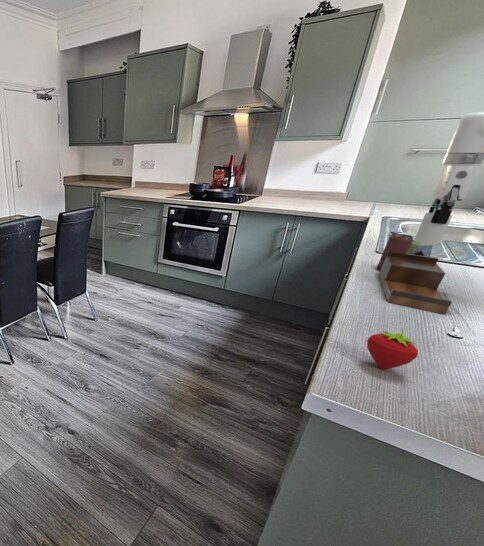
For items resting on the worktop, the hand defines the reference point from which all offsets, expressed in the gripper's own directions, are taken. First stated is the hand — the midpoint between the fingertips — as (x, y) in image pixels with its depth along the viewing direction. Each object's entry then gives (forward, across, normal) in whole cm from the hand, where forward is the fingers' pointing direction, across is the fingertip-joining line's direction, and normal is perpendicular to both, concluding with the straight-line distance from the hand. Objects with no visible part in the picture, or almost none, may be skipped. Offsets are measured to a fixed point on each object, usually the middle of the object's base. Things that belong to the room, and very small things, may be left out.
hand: (435, 220), depth 96 cm
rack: (+22, -7, +1) cm, 23 cm away
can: (+22, +14, +4) cm, 27 cm away
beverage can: (+23, +23, -4) cm, 33 cm away
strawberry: (+23, -62, +12) cm, 67 cm away
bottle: (+7, 0, 0) cm, 7 cm away
